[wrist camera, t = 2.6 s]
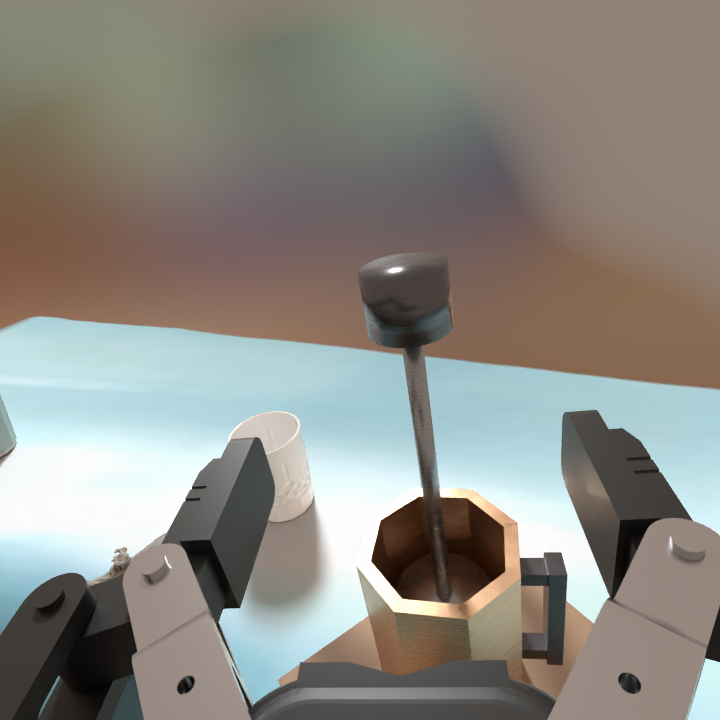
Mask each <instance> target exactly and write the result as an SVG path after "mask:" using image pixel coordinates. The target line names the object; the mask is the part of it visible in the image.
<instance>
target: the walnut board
mask: <svg viewBox="0 0 720 720" xmlns="http://www.w3.org/2000/svg"><path fill="white" fill-rule="evenodd" d="M521 613H522V633H543V586H521ZM593 625H594V624H593V623H592V622H591V621H590V620H588V619H587V618H586V617H585V616H584V615H582V614H581V613H580V612H579V611H578V610H576V609H575V608H574V607H573V606H572V605H570V604H569V603H568V602H567V601H566V610H565V631H564V651H563V665H547V662H546V659H522V676H523V682H525V683H527V684H530V685H532V686H535V687H536V688H538V689H540V690H542V691H544V692H546V693H548V694H549V695H550V696H552V697H553V698H555V699H556V700H557V699H558V697H559V695H560V693H561V691H562V689H563V687H564V684H565V682H566V680H567V678H568V676H569V674H570V672H571V670H572V668H573V666H574V664H575V662H576V660H577V658H578V656H579V654H580V652H581V650H582V648H583V645H584V643H585V641H586V639H587V637H588V635H589V633H590V631H591V629H592V627H593ZM304 662H351V663H355V664H358V665H362V666H366V667H369V668H373V669H377V670H380V671H382V668H381V664H380V660H379V655H378V651H377V647H376V643H375V639H374V635H373V631H372V627H371V623H370V619H369V616H368V617H367V618H365V619H364V620H362V621H361V622H359V623H358V624H357V625H355V626H354V627H352V628H351V629H349V630H348V631H347V632H345V633H344V634H342V635H341V636H340V637H338V638H337V639H335V640H334V641H332V642H331V643H330V644H328V645H327V646H325V647H324V648H322V649H321V650H320V651H318V652H317V653H315V654H314V655H313V656H311V657H310V658H308V659H307V660H305V661H304ZM299 667H300V665H298V666H297V667H295V668H294V669H293V670H291V671H290V672H288V673H287V674H286V675H284V676H283V677H281V678H280V679H278V682H279V684H280V686H283V685H285V684H287V683H290V682H292V681H296V680H297V678H298V672H299Z"/></svg>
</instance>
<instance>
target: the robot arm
mask: <svg viewBox="0 0 720 720" xmlns="http://www.w3.org/2000/svg"><path fill="white" fill-rule="evenodd" d="M561 467H562V474H563V478H564V482H565V485H566V488H567V490H568V493H569V495H570V498H571V500H572V503H573V505H574V508H575V510H576V513H577V515H578V518H579V520H580V523H581V525H582V528H583V530H584V533H585V535H586V538H587V540H588V543H589V545H590V548H591V550H592V553H593V555H594V558H595V561H596V563H597V566H598V568H599V571H600V573H601V576H602V578H603V581H604V583H605V586H606V588H607V591H608V593H609V596H610V598H608V599H607V600H606V602H605V603H604V605H603V607H602V609H601V611H600V613H599V615H598V617H597V619H596V621H595V623H594V625H593V627H592V629H591V631H590V633H589V635H588V637H587V639H586V641H585V643H584V645H583V648H582V650H581V652H580V654H579V656H578V658H577V660H576V662H575V664H574V666H573V668H572V670H571V672H570V674H569V676H568V678H567V680H566V682H565V684H564V687H563V689H562V691H561V693H560V695H559V697H558V699H557V700H556V699H555V698H553V697H552V696H550V695H549V694H548V693H546V692H544V691H542V690H540V689H538V688H536V687H535V686H532V685H530V684H527V683H525V682H522V681H520V680H516V679H512V678H509V673H508V667H507V661H506V660H466V661H450V662H447V663H443V664H440V665H436V666H433V667H429V668H426V669H422V670H419V671H415V672H412V673H408V674H404V675H395V674H391V673H387V672H384V671H380V670H377V669H373V668H369V667H366V666H362V665H358V664H355V663H351V662H300V667H299V672H298V678H297V680H296V681H292V682H290V683H287V684H285V685H283V686H280V687H279V688H277V689H275V690H273V691H272V692H270V693H268V694H267V695H266V696H264V697H263V698H261V699H260V700H259V701H257V702H256V703H255V704H253V702H252V700H251V698H250V695H249V693H248V691H247V688H246V686H245V684H244V681H243V679H242V676H241V674H240V671H239V669H238V667H237V664H236V662H235V659H234V657H233V655H232V652H231V650H230V647H229V645H228V642H227V640H226V638H225V635H224V633H223V630H222V628H221V626H220V624H219V619H220V616H221V613H222V610H223V609H226V608H240V606H241V603H242V600H243V597H244V594H245V591H246V588H247V584H248V581H249V578H250V575H251V572H252V569H253V566H254V563H255V559H256V556H257V553H258V550H259V547H260V544H261V541H262V538H263V534H264V531H265V528H266V525H267V522H268V519H269V516H270V513H271V509H272V506H273V503H274V499H275V483H274V478H273V475H272V472H271V469H270V466H269V462H268V459H267V456H266V453H265V450H264V447H263V444H262V441H261V440H260V438H259V437H252V438H240V439H231V440H230V441H229V443H228V445H227V447H226V449H225V451H224V453H223V455H222V457H221V458H219V459H213V460H212V461H211V462H210V463H209V464H208V465H207V466H206V467H205V468H204V469H203V470H202V471H200V473H199V474H198V476H197V478H196V480H195V482H194V484H193V486H192V490H190V491H189V493H188V495H187V497H186V501H185V502H183V504H182V506H181V508H180V510H179V512H178V514H177V515H176V517H175V519H174V521H173V523H172V525H171V527H170V529H169V530H168V532H167V534H166V536H165V538H164V540H163V542H162V543H161V545H158V546H155V547H152V548H150V549H148V550H147V551H145V552H143V553H142V554H141V555H139V556H138V557H137V558H136V559H135V560H134V561H133V562H132V563H131V564H130V565H129V567H128V568H127V570H126V572H125V574H124V575H122V576H120V577H116V578H113V579H110V580H107V581H104V582H101V583H98V584H95V585H92V586H89V585H88V583H87V582H86V580H85V578H84V577H83V576H82V575H80V574H77V573H67V574H62V575H59V576H56V577H54V578H52V579H50V580H48V581H46V582H45V583H43V584H42V585H40V586H39V587H38V588H36V589H35V590H34V591H33V592H32V593H31V594H30V595H29V596H28V597H27V598H26V599H25V600H24V602H23V603H22V605H21V606H20V607H19V609H18V610H17V612H16V613H15V615H14V616H13V618H12V619H11V621H10V622H9V623H8V625H7V626H6V628H5V629H4V631H3V632H2V634H1V635H0V720H111V718H112V716H113V713H114V711H115V709H116V706H117V704H118V702H119V699H120V697H121V694H122V692H123V690H124V687H125V685H126V682H127V680H128V678H129V675H132V674H134V675H135V679H136V684H137V689H138V694H139V699H140V704H141V708H142V713H143V718H144V720H688V716H689V713H690V709H691V706H692V703H693V699H694V696H695V692H696V689H697V685H698V682H699V679H700V675H701V672H702V668H703V665H704V662H705V658H707V659H710V660H714V661H717V662H720V536H719V535H718V534H717V533H716V532H714V531H713V530H711V529H710V528H708V527H706V526H704V525H702V524H699V523H697V522H694V521H693V520H692V519H691V517H690V516H689V514H688V513H687V511H686V510H685V508H684V507H683V505H682V504H681V502H680V501H679V499H678V498H677V496H676V495H675V493H674V492H673V490H672V488H671V487H670V485H669V484H668V482H667V481H666V479H665V478H664V476H663V475H662V473H659V469H658V467H657V466H656V464H655V463H654V461H653V460H651V458H650V455H649V454H648V452H647V451H646V449H645V448H644V446H643V444H642V443H641V441H639V440H638V439H637V438H635V437H634V436H632V435H631V434H630V433H628V432H627V431H625V430H624V429H623V428H620V429H608V427H607V426H606V424H605V422H604V421H603V419H602V417H601V416H600V414H599V412H598V411H597V410H588V411H576V412H565V413H564V414H563V421H562V448H561ZM58 675H59V676H60V679H59V681H58V683H57V685H56V687H55V689H54V690H53V692H52V694H51V696H50V698H49V700H48V702H47V704H46V705H45V707H44V709H43V711H42V713H41V715H40V717H39V719H38V716H39V712H40V709H41V707H42V705H43V703H44V701H45V699H46V697H47V695H48V694H49V692H50V690H51V688H52V686H53V684H54V683H55V681H56V679H57V677H58Z"/></svg>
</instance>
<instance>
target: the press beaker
mask: <svg viewBox="0 0 720 720" xmlns="http://www.w3.org/2000/svg"><path fill="white" fill-rule="evenodd" d="M440 495H441V504H442V512H443V521H444V530H445V538H446V547H447V553H452V554H457V555H460V556H463V557H466V558H468V559H470V560H472V561H473V562H475V563H476V564H478V565H479V566H480V567H481V568H482V569H483V570H484V571H485V572H486V574H487V575H488V576H489V578H490V580H491V583H490V584H489V585H487V586H486V587H485V588H483V589H482V590H481V591H479V592H478V593H477V594H476V595H474V596H473V597H472V598H470V599H469V600H468V601H466V602H465V603H464V604H462V605H459V604H449V603H438V602H428V601H418V600H408V599H402V598H401V597H400V596H399V595H398V593H397V592H396V587H397V583H398V580H399V578H400V576H401V575H402V573H403V572H404V571H405V569H406V568H407V567H408V566H409V565H410V564H412V563H413V562H414V561H416V560H418V559H420V558H422V557H424V556H427V555H430V554H431V551H430V544H429V537H428V530H427V522H426V515H425V508H424V501H423V494H422V488H414V489H413V490H411V491H409V492H408V493H406V494H404V495H403V496H401V497H399V498H398V499H396V500H394V501H393V502H391V503H389V504H388V505H386V506H384V507H383V508H381V509H379V510H378V511H376V512H375V513H373V514H371V515H370V516H369V519H368V523H367V527H366V530H365V534H364V538H363V542H362V545H361V549H360V553H359V556H358V560H357V564H356V566H357V570H358V574H359V578H360V582H361V586H362V590H363V594H364V598H365V602H366V607H367V611H368V615H369V619H370V623H371V627H372V631H373V635H374V639H375V643H376V647H377V651H378V655H379V660H380V664H381V668H382V671H384V672H387V673H391V674H395V675H404V674H408V673H412V672H415V671H419V670H422V669H426V668H429V667H433V666H436V665H440V664H443V663H447V662H450V661H466V660H506V661H507V667H508V673H509V678H512V679H516V680H520V681H522V682H523V676H522V659H546V662H547V665H563V651H564V631H565V610H566V590H567V572H566V569H565V565H564V561H563V557H562V553H544V558H520V557H519V541H518V526H517V523H516V522H515V521H514V520H512V519H511V518H510V517H508V516H507V515H506V514H504V513H503V512H502V511H500V510H499V509H498V508H496V507H495V506H494V505H492V504H491V503H490V502H488V501H487V500H486V499H484V498H483V497H482V496H480V495H479V494H478V493H476V492H475V491H474V490H467V489H440ZM521 586H543V633H522V613H521Z"/></svg>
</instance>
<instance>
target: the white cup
mask: <svg viewBox="0 0 720 720" xmlns="http://www.w3.org/2000/svg"><path fill="white" fill-rule="evenodd" d="M252 437H259V438H260V440H261V441H262V444H263V447H264V450H265V453H266V456H267V459H268V462H269V466H270V469H271V472H272V475H273V478H274V483H275V499H274V503H273V506H272V509H271V513H270V516H269V519H268V521H271V522H284V521H288V520H292V519H294V518H296V517H297V516H299V515H301V514H302V513H304V512H305V511H306V509H307V508H308V507H309V506H310V505H311V503H312V499H313V495H314V492H313V487H312V483H311V478H310V469H309V464H308V458H307V454H306V449H305V445H304V440H303V435H302V431H301V426H300V422H299V420H298V418H297V417H296V416H294V415H293V414H290V413H287V412H281V411H274V412H266V413H262V414H259V415H256V416H253V417H251V418H249V419H247V420H245V421H243V422H242V423H241V424H239V425H238V426H237V427H236V428H235V429H234V430H233V431H232V432H231V434H230V435H229V438H228V442H227V444H228V443H229V441H230V440H231V439H240V438H252Z"/></svg>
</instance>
